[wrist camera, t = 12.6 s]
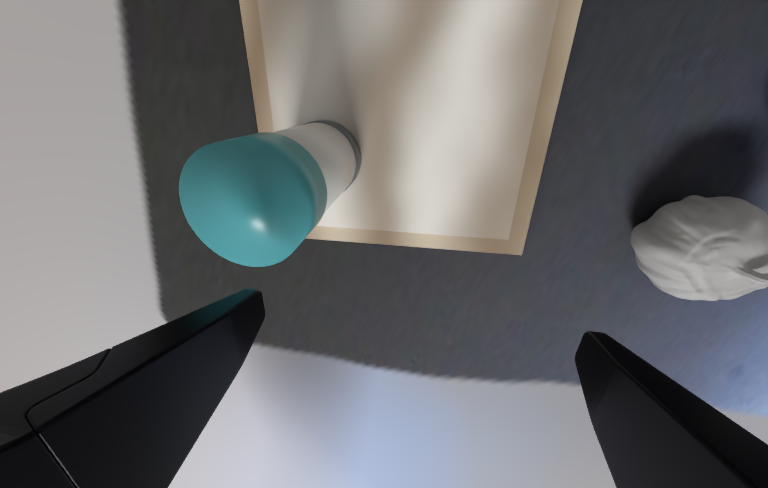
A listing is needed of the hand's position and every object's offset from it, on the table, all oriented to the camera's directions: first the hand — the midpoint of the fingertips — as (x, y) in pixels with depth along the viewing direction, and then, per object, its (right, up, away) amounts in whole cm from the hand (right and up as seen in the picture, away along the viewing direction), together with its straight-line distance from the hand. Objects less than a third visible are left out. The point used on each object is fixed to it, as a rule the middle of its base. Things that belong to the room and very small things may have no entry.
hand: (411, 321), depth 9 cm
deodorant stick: (-4, +7, +9) cm, 12 cm away
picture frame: (0, +11, +7) cm, 14 cm away
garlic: (+16, +3, +9) cm, 19 cm away
